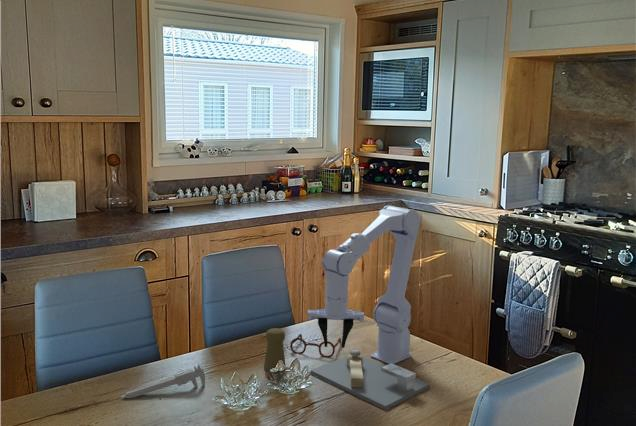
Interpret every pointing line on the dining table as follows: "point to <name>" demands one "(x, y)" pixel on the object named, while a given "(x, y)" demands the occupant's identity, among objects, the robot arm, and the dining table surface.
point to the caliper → (170, 382)
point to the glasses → (313, 345)
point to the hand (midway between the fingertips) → (334, 345)
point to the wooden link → (355, 368)
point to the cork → (274, 348)
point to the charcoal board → (368, 382)
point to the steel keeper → (401, 376)
